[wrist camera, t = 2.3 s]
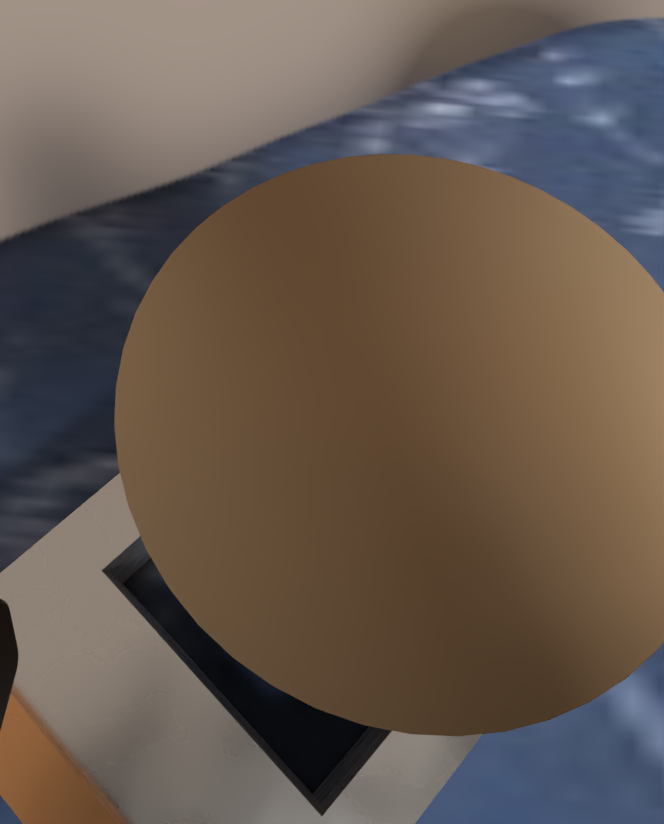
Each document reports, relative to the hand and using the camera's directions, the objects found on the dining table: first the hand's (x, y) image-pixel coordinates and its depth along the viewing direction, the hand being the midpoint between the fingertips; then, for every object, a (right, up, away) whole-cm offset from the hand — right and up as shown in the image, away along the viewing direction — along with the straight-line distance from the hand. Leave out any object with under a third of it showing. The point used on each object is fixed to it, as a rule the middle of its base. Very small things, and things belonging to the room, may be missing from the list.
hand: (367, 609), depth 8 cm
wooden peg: (-1, -2, +9) cm, 9 cm away
